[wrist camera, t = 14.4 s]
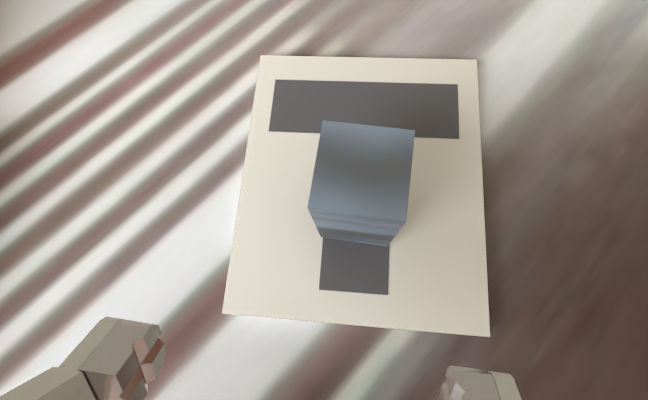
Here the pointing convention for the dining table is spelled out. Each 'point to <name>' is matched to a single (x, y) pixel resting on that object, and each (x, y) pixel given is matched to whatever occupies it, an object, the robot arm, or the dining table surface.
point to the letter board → (352, 257)
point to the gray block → (361, 182)
